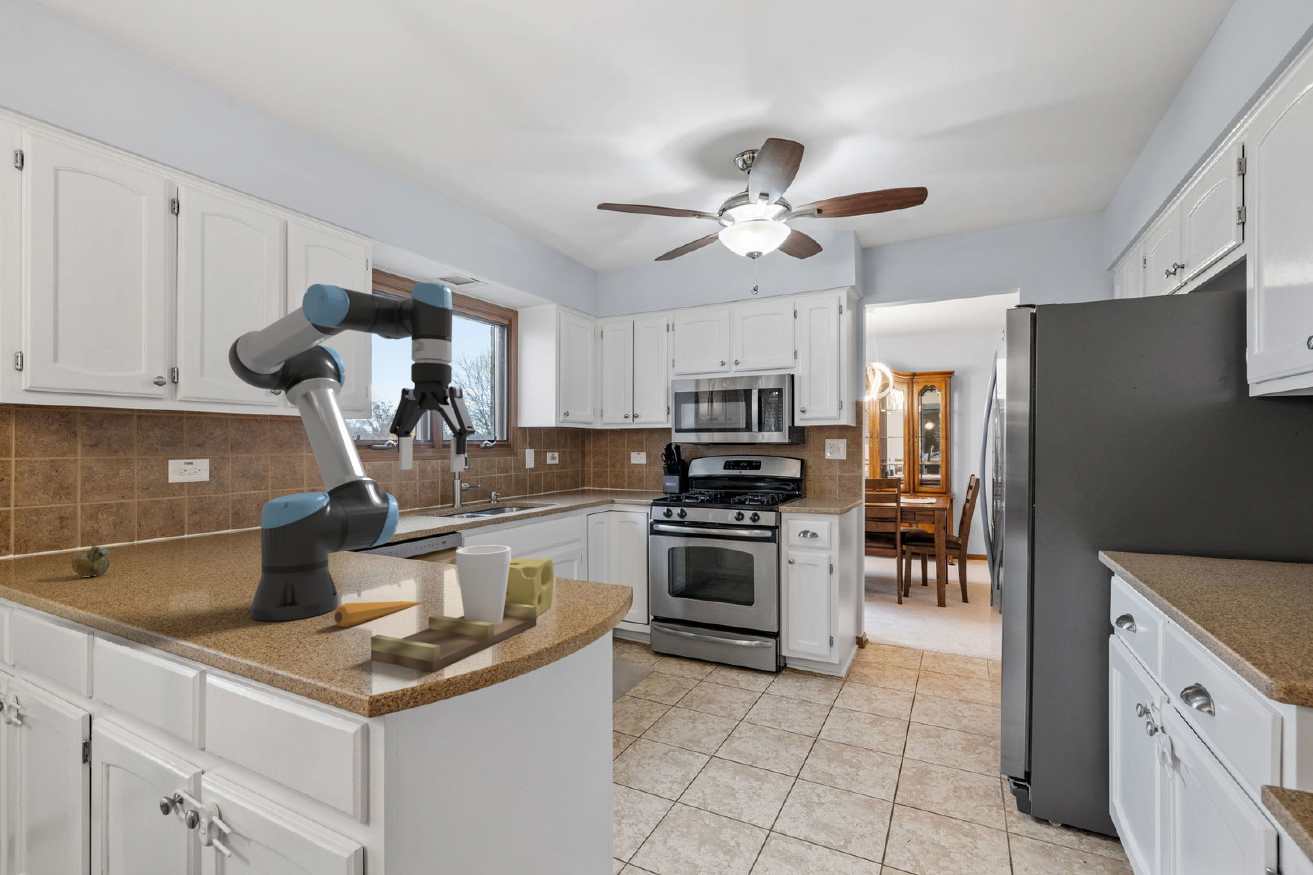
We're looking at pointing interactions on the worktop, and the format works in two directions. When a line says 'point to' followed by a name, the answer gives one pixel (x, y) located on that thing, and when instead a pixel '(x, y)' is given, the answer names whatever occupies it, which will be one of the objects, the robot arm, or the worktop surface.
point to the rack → (451, 639)
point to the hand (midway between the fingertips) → (430, 470)
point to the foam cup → (483, 581)
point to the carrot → (367, 611)
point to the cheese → (531, 583)
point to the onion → (91, 562)
